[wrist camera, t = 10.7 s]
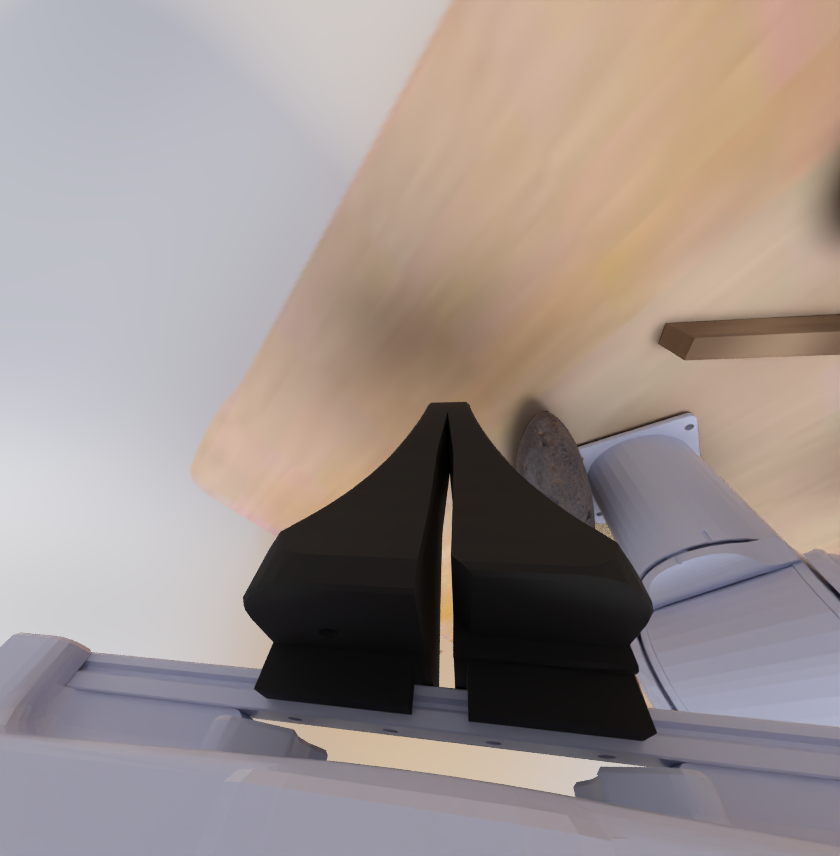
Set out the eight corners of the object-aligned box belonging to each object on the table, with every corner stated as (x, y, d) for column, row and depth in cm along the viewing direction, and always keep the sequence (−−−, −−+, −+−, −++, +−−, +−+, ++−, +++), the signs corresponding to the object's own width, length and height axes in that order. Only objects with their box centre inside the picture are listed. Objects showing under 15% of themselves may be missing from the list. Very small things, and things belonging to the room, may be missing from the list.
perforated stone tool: (501, 399, 21) (518, 466, 15) (581, 386, 20) (631, 453, 14) (514, 528, 29) (528, 603, 24) (571, 524, 28) (601, 602, 22)
